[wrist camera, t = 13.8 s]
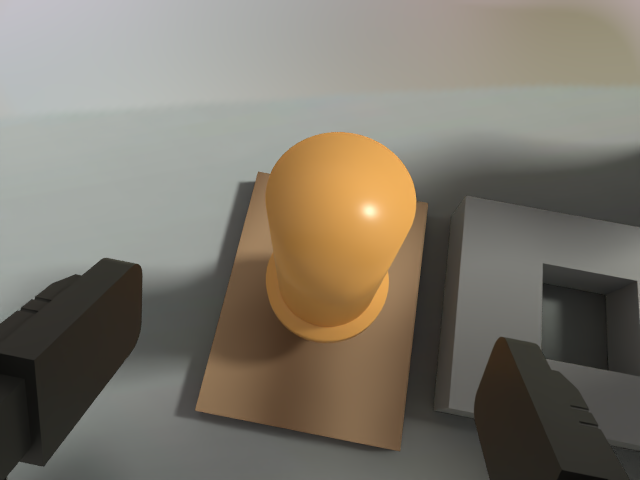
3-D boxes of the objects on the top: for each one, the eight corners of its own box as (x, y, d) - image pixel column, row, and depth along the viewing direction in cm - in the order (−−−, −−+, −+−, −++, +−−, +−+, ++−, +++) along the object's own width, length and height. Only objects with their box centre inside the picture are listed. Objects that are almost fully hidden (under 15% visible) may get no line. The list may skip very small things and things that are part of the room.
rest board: (423, 211, 26) (428, 203, 25) (395, 450, 22) (399, 451, 21) (259, 180, 26) (258, 171, 26) (199, 411, 22) (194, 410, 21)
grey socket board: (751, 271, 26) (809, 251, 23) (782, 479, 22) (855, 486, 19) (451, 216, 26) (470, 189, 23) (433, 410, 23) (453, 407, 20)
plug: (382, 259, 24) (440, 131, 14) (369, 361, 22) (427, 302, 12) (281, 243, 24) (266, 105, 14) (261, 343, 22) (226, 269, 12)
